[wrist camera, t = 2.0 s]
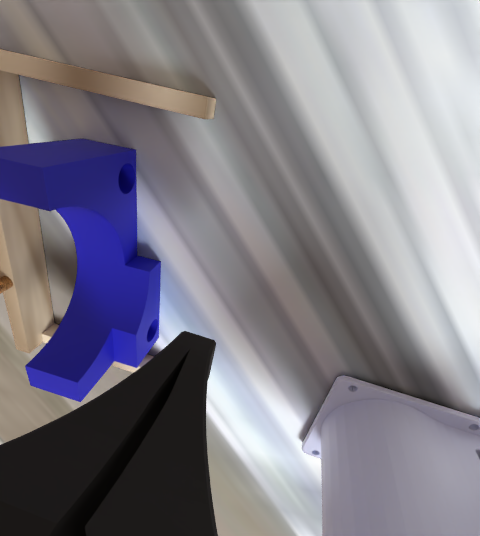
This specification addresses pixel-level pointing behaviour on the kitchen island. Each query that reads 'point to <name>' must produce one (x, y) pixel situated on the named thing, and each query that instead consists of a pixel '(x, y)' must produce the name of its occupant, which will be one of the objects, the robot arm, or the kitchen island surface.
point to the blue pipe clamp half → (89, 258)
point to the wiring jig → (27, 218)
